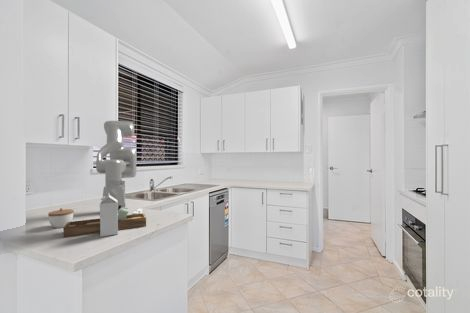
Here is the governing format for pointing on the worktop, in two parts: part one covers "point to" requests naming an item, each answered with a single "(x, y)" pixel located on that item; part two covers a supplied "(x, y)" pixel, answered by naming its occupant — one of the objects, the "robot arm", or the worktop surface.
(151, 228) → the worktop surface
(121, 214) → the block
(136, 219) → the box
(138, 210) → the napkin holder
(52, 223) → the lidded jar
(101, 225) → the milk carton
